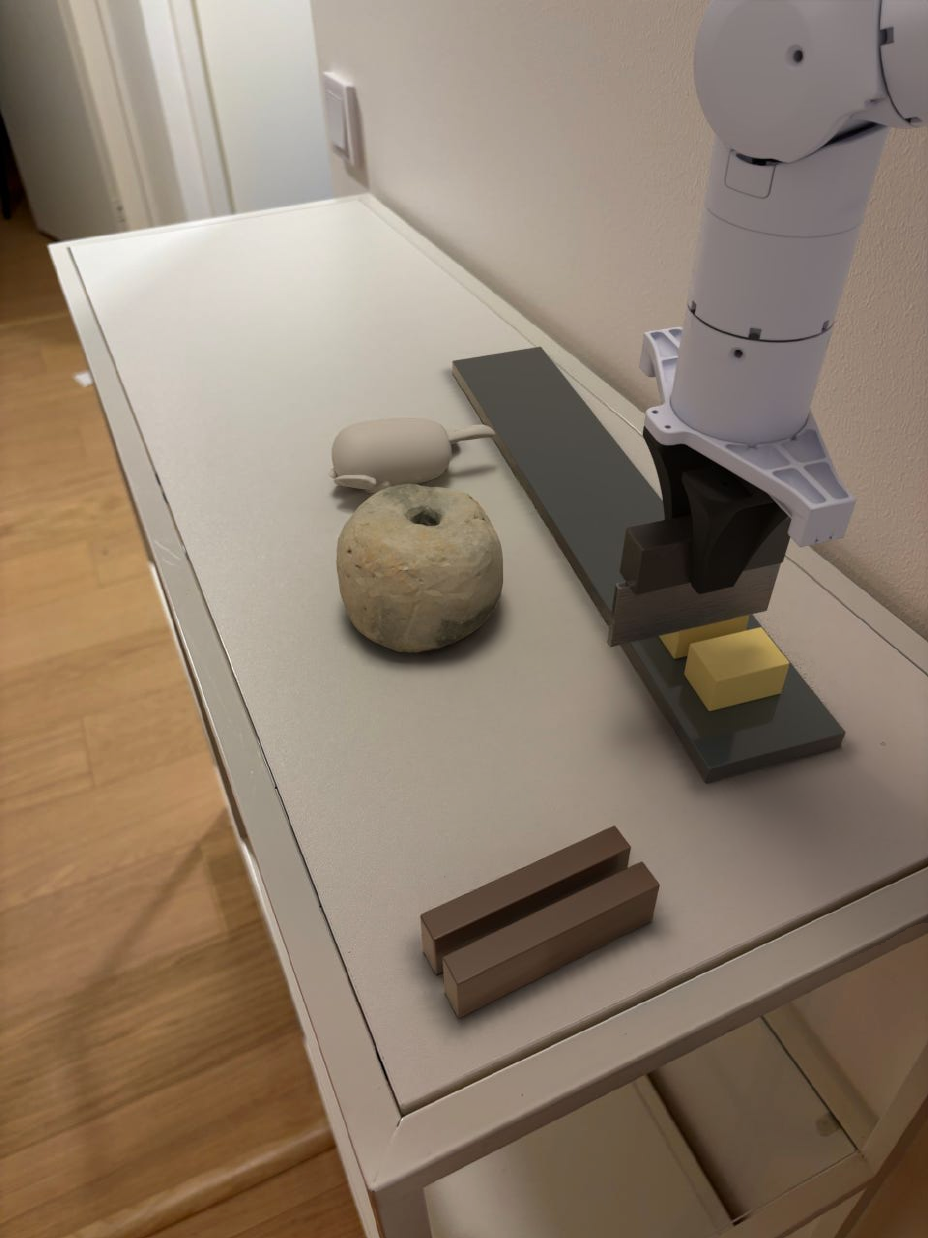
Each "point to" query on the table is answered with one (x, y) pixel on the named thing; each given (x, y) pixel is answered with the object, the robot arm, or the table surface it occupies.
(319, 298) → the table surface
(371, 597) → the stone
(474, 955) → the knife rack
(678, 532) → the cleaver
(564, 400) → the butter board
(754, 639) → the butter pat
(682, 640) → the butter stick
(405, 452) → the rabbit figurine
